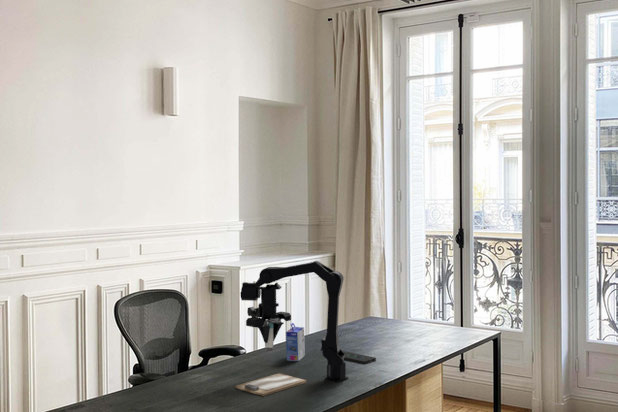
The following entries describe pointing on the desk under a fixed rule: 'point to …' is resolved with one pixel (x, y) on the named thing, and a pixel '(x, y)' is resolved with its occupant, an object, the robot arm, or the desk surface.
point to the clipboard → (271, 384)
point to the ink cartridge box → (295, 343)
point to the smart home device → (358, 358)
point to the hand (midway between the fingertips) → (269, 342)
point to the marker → (270, 338)
